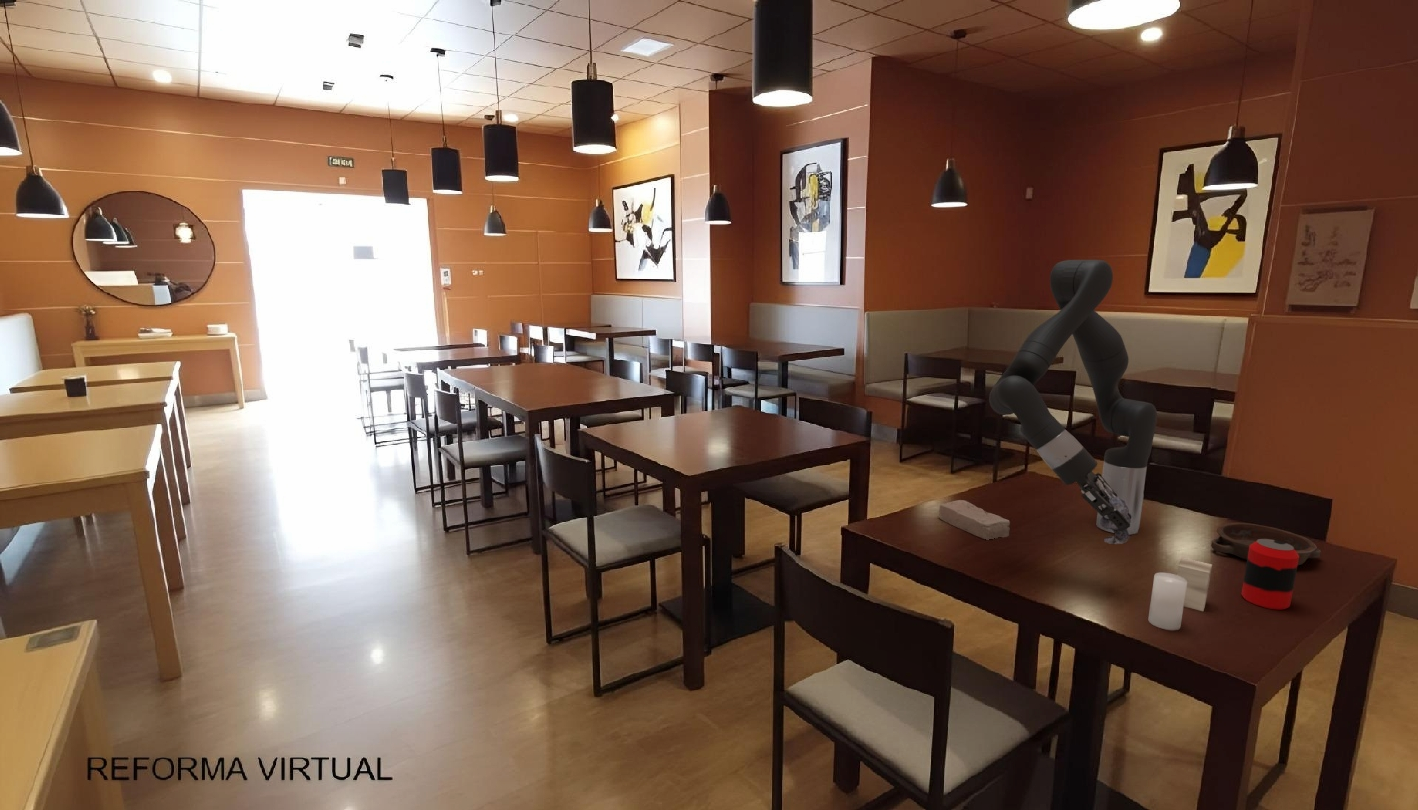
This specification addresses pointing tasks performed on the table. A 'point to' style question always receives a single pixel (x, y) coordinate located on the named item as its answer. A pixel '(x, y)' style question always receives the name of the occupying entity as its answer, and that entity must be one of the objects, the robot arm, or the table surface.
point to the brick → (974, 520)
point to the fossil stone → (1108, 524)
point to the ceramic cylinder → (1167, 601)
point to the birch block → (1195, 582)
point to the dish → (1244, 534)
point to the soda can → (1270, 574)
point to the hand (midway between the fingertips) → (1126, 523)
